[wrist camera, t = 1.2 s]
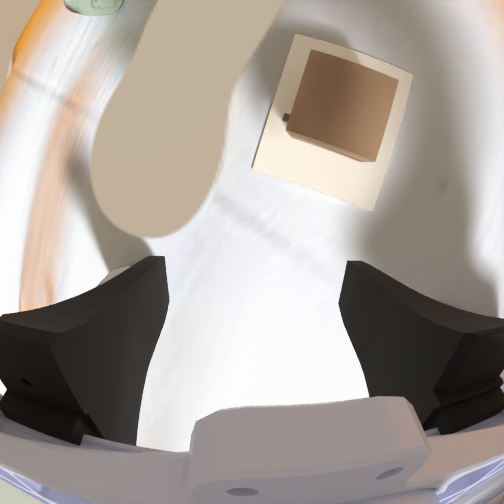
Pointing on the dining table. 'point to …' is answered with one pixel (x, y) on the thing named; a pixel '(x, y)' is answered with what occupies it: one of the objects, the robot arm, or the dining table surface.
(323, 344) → the dining table surface
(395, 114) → the label tile
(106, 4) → the green seashell
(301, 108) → the block
